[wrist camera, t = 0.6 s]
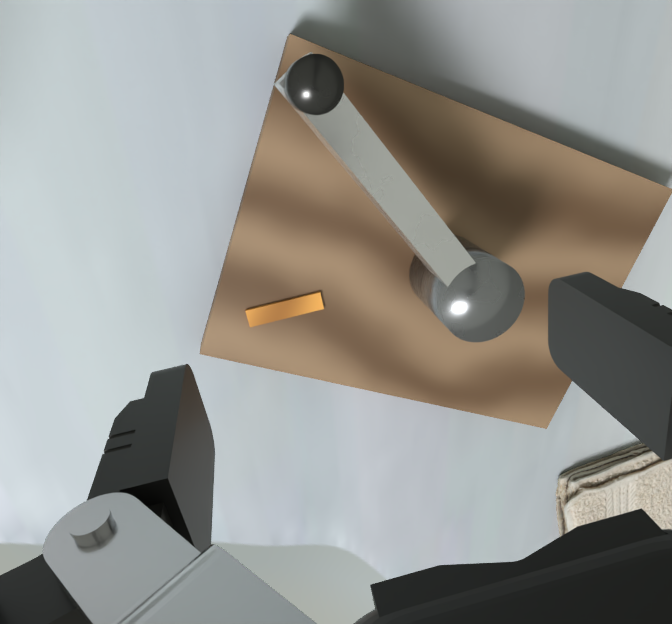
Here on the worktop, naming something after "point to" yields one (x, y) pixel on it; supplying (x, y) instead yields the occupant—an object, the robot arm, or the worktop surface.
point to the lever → (407, 210)
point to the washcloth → (616, 489)
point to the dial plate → (396, 256)
